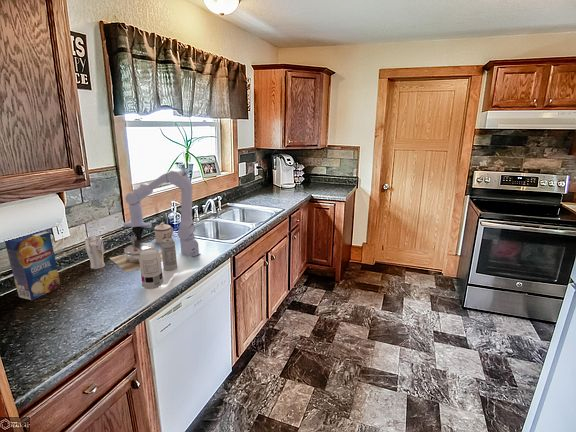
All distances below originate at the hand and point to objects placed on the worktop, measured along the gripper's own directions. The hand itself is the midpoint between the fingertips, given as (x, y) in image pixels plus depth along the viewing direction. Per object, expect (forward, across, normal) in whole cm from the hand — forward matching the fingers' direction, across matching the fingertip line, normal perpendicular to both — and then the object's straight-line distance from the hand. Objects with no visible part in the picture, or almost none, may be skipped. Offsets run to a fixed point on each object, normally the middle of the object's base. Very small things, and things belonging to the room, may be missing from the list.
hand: (139, 240), depth 171 cm
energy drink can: (+7, +25, -17) cm, 31 cm away
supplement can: (+7, +24, -32) cm, 41 cm away
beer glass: (+7, -10, -20) cm, 24 cm away
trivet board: (+7, +5, -9) cm, 12 cm away
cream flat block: (+6, +5, -9) cm, 12 cm away
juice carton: (+7, -18, -44) cm, 48 cm away
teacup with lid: (+7, +5, +18) cm, 20 cm away
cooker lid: (+1, +3, -7) cm, 8 cm away
